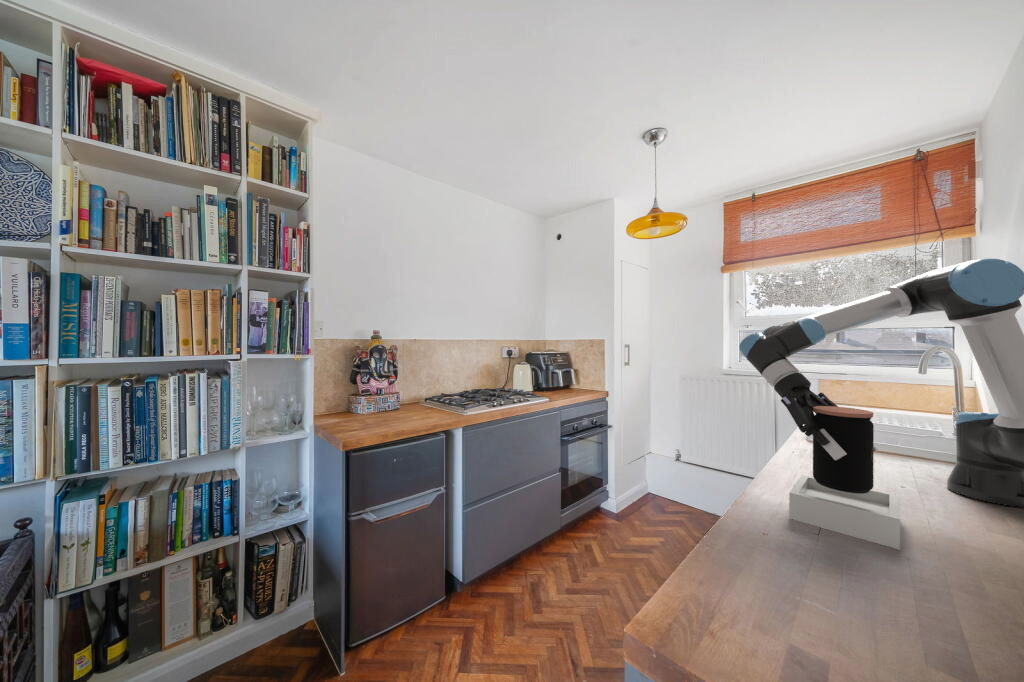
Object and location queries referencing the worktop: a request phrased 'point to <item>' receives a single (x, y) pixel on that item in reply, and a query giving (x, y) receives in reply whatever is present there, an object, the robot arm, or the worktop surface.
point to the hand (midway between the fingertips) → (856, 455)
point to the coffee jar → (845, 449)
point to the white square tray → (847, 511)
